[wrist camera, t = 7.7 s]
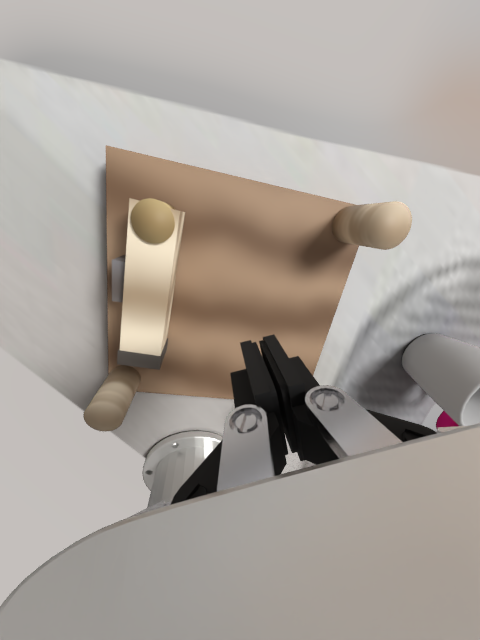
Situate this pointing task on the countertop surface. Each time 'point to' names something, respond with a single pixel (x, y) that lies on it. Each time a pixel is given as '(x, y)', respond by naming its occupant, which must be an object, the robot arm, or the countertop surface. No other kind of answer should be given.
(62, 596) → the robot arm
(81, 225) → the countertop surface
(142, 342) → the folding leg
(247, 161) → the countertop surface
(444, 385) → the cup
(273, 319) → the stool seat
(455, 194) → the countertop surface
